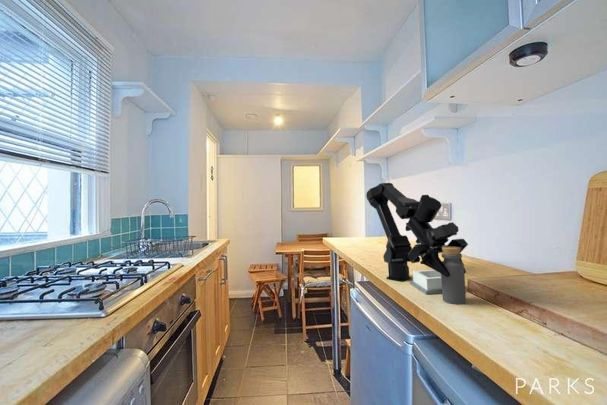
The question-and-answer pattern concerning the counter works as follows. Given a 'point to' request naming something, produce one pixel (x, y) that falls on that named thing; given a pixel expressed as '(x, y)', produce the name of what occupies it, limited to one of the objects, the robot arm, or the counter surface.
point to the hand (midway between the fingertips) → (456, 274)
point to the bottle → (453, 276)
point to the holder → (427, 281)
